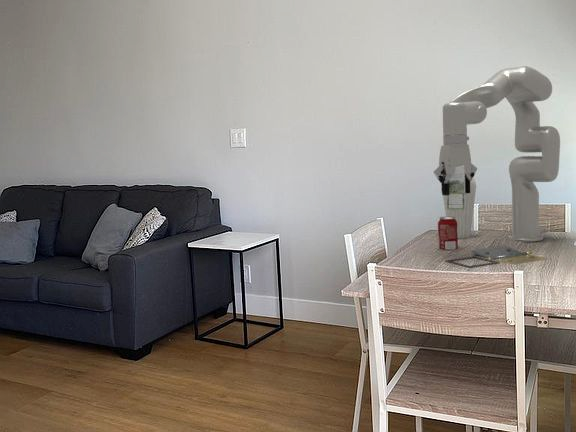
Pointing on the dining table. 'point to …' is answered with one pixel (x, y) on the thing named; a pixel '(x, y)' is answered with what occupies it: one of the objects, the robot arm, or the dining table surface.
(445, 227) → the soda can
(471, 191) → the vase
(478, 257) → the gray rectangular frame
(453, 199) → the syrup box
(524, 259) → the fixed leaf
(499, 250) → the gray hinge leaf
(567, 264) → the dining table surface
